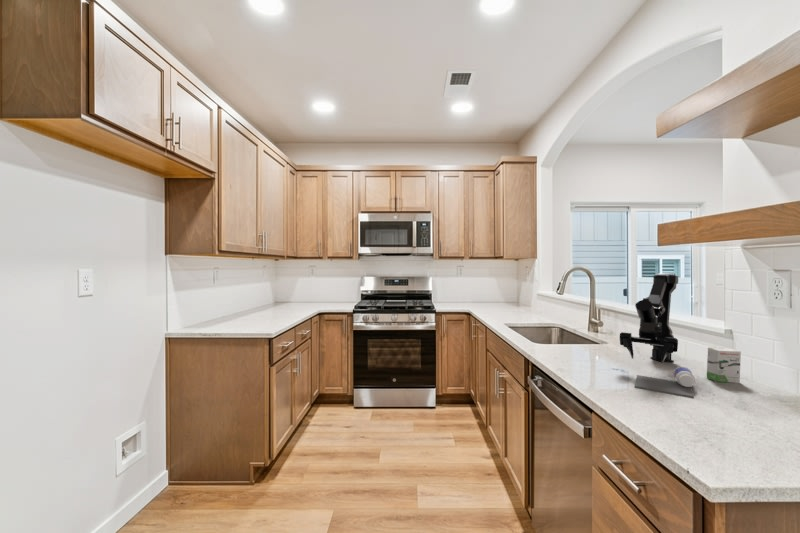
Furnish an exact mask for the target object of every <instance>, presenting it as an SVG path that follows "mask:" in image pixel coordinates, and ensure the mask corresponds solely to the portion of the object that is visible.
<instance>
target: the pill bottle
mask: <svg viewBox="0 0 800 533" xmlns="http://www.w3.org/2000/svg"><path fill="white" fill-rule="evenodd" d="M673 377H674V378H675V381H677V382H678V383H679V384H680V385H682V386H685V387H691V388H692V386H694V384H695V383H696V377H695V375H694V374H693V372H692V371H691V370H690V369H689V368H688V367H685V366H679V367H676V368H675V369H674V370H673Z"/></svg>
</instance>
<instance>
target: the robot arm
mask: <svg viewBox="0 0 800 533" xmlns="http://www.w3.org/2000/svg"><path fill="white" fill-rule="evenodd" d="M652 278H653V279H652V280H653V283H652V286H651V290H650V293H649V295H648V297H645V298H642V300H639V301H637V302H636V303H635V310H636V312H637V315H638V318H639V320H640V321H639V329H638V336H632V332H626V331H625V332H624V331H623V332H620V333H619V345H620V346H623V347H624V348H626V349H627V351H628V352H629V355H630V356H631V359H634V347H633V343H639V344H644V345H649V346H650V347H651V346H652V349H651V356H650V359H653V360H655V361H658V362H660V363H662V364H663V363H665V362H666V363H670V362H671V363H674V362H675V360H674V359H672V354H674V353H676V352H678V348H679V347H678V345H679V339H678V338H676V337H674V334H673V329H672V328H671V327H670V324H669V323H670V312H671V300H672V294H673V292H674V291H675V290H676V289H677V285H678V284H679V276H678V275H676V273H671V272H670V273H667V272H665V273H664V272H658V273H656V274H654V275H653V277H652Z"/></svg>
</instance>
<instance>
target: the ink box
mask: <svg viewBox="0 0 800 533" xmlns="http://www.w3.org/2000/svg"><path fill="white" fill-rule="evenodd" d="M741 354H742V352H741V351H740V350H738V349H734V348H731V347H716V346H715V347H714V346H713V347H712V346H711V347H710V346H709V347H707V359H706V360H707V361H706V362H707V364H706V379H709V380H711V381H713V382H716V383H736V384H737V383H739V384H740V382H741Z"/></svg>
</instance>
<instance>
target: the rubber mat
mask: <svg viewBox="0 0 800 533" xmlns="http://www.w3.org/2000/svg"><path fill="white" fill-rule="evenodd" d="M635 377H636V379H635V384H634V388H636V389H642V390H647V391H653V392H659V393H664V394H670V395H675V396H680V397H681V396H682V397H685V398H686V397H687V398H692V399H695V396H694V392H693V389H692V386H691V387H685V386H682V385H680V384H679V383H678V382H677V380H670V379H666V378H665V379H664V378H657V377H653V376H646V375H640V374H637V375H636V376H635Z"/></svg>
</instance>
